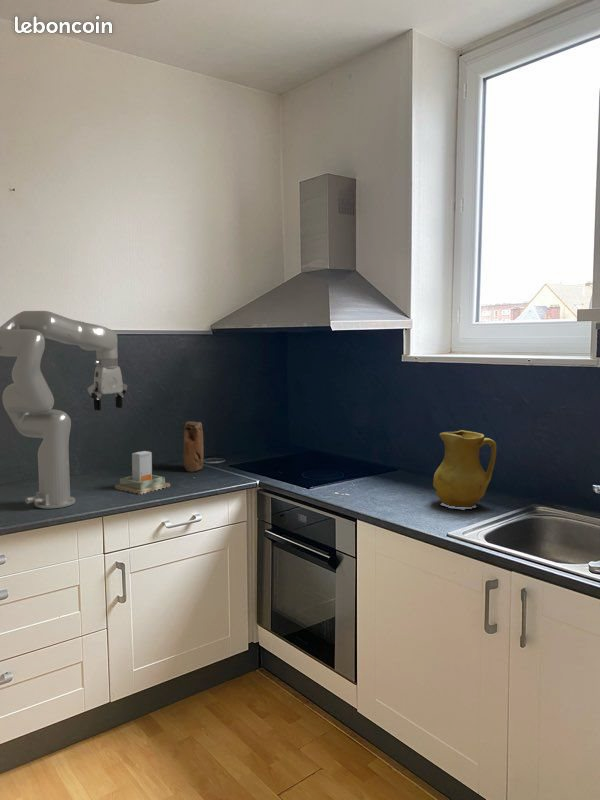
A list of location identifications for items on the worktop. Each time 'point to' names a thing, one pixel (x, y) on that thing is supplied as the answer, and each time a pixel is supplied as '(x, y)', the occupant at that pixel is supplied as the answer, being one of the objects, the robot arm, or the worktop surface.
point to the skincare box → (142, 466)
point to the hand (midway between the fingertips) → (108, 408)
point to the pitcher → (463, 469)
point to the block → (193, 446)
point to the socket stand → (142, 484)
